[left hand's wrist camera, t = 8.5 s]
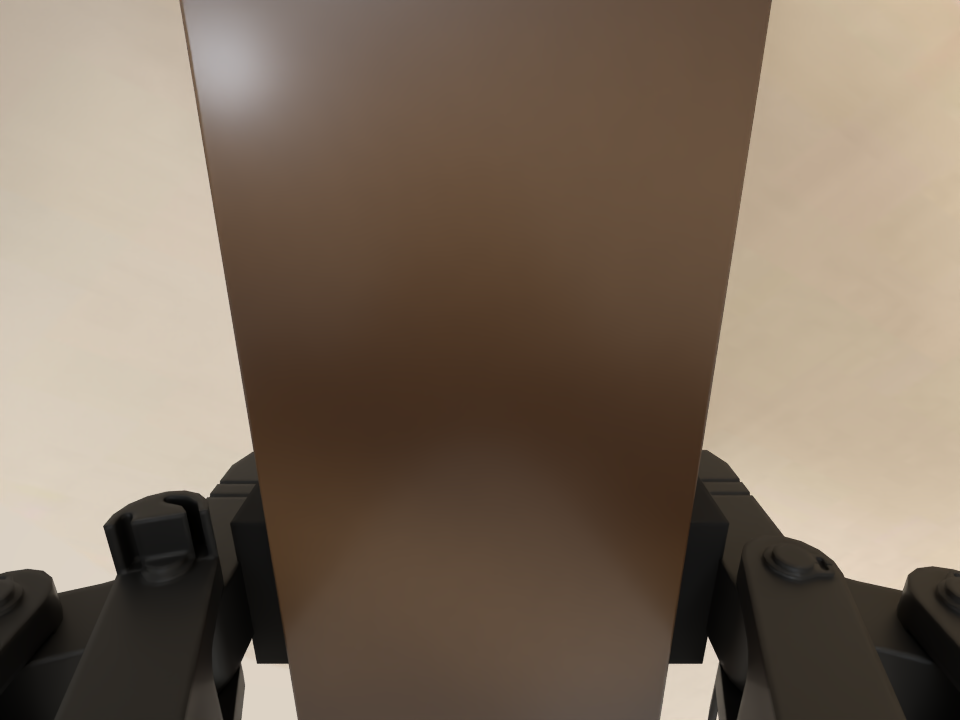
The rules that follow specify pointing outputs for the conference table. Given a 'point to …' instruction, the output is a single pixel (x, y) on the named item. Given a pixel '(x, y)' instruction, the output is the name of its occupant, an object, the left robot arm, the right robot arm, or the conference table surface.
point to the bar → (477, 331)
